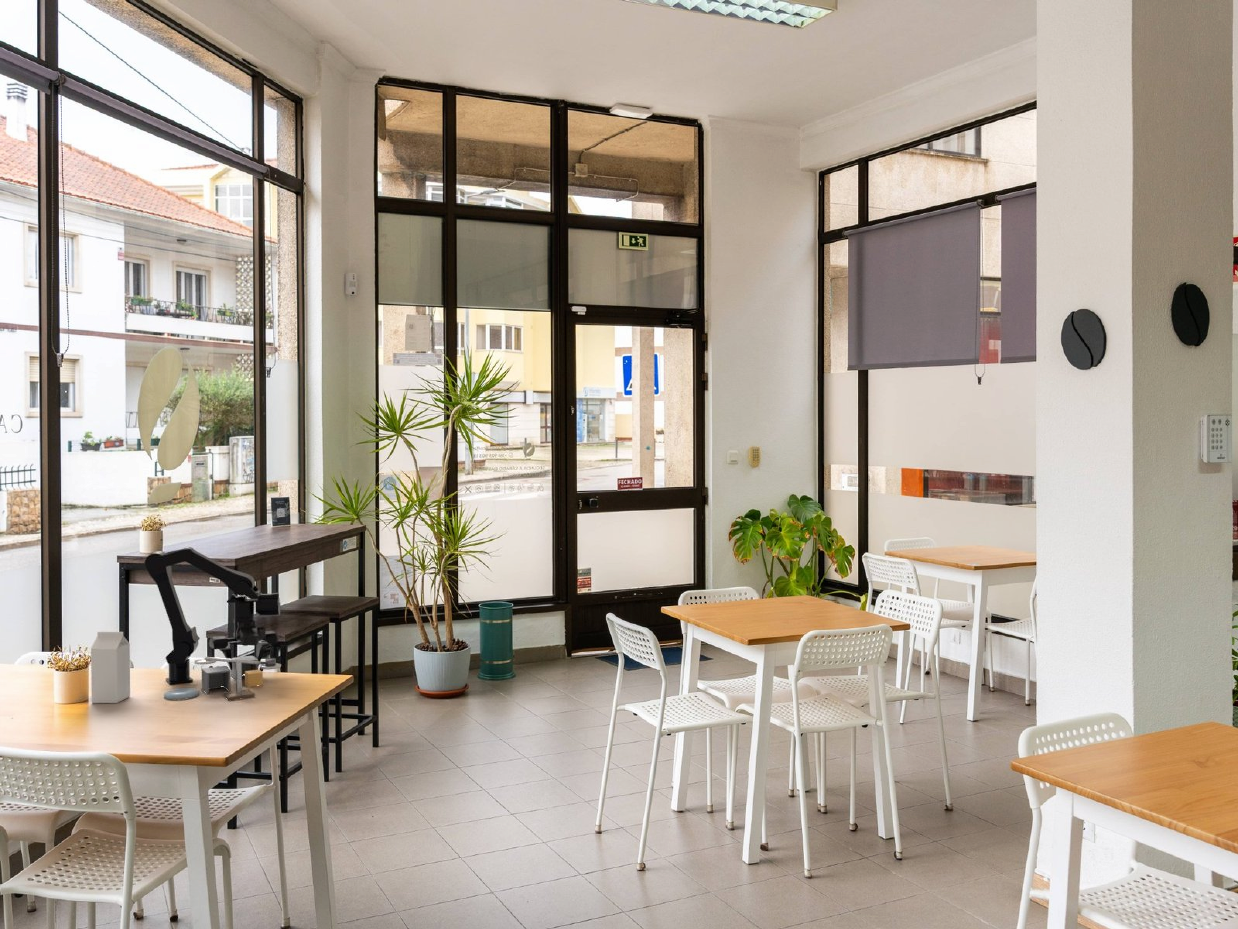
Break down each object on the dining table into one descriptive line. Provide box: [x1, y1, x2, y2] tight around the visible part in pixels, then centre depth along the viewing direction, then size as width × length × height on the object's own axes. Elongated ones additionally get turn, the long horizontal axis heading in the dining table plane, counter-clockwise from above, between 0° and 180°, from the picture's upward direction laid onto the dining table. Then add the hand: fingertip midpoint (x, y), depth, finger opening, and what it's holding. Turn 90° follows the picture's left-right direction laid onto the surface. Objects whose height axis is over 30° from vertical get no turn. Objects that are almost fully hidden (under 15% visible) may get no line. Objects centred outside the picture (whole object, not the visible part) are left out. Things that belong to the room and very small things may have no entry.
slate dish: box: [163, 687, 200, 701], centre depth 281 cm, size 9×9×1 cm
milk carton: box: [90, 631, 131, 704], centre depth 276 cm, size 7×7×19 cm
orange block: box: [244, 669, 264, 688], centre depth 294 cm, size 4×4×4 cm
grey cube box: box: [201, 665, 232, 695], centre depth 288 cm, size 6×6×6 cm
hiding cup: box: [231, 655, 259, 681], centre depth 302 cm, size 6×6×6 cm
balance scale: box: [194, 656, 282, 702], centre depth 281 cm, size 6×23×12 cm, turn 125°
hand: (244, 668), depth 302 cm, fingers open, 7 cm apart
